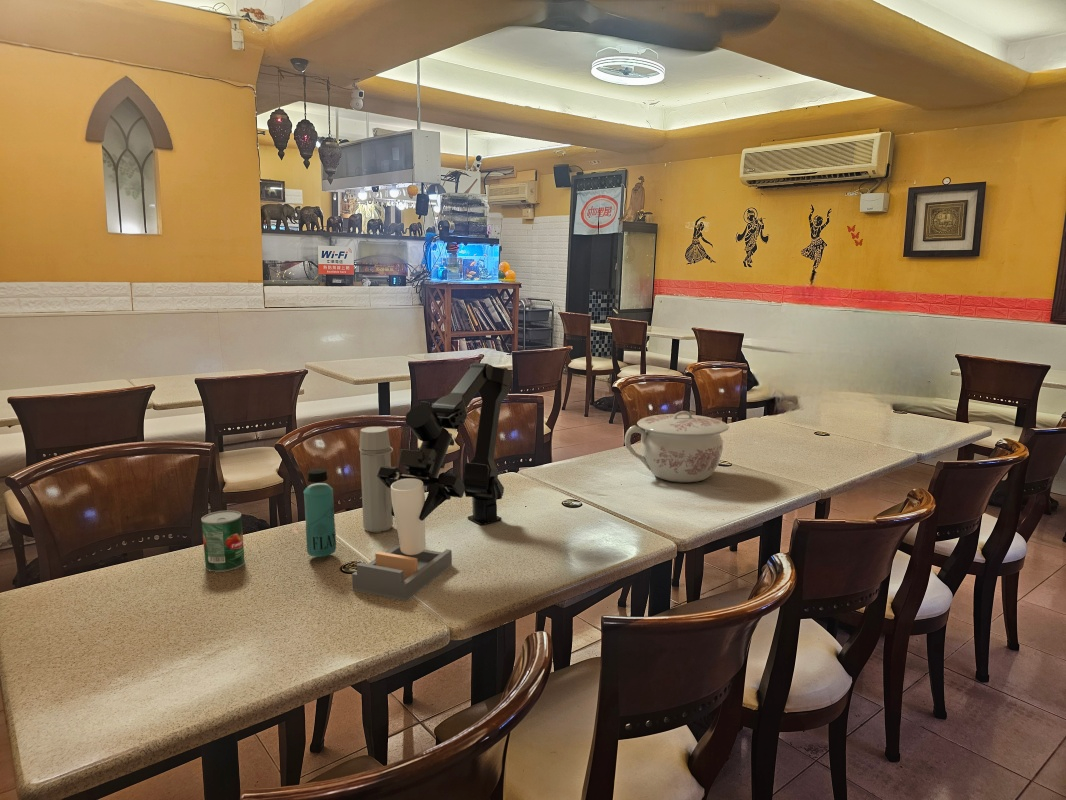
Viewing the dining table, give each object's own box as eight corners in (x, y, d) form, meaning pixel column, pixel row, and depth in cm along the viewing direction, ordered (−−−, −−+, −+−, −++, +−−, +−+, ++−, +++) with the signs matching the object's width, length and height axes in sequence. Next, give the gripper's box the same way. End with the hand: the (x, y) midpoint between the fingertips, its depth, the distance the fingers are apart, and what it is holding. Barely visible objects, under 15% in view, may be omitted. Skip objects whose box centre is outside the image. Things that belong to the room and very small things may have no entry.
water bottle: (356, 528, 175) (351, 429, 170) (382, 520, 180) (379, 424, 176) (378, 538, 169) (373, 435, 164) (405, 529, 174) (401, 430, 170)
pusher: (379, 574, 147) (378, 551, 146) (418, 581, 143) (417, 558, 143) (376, 576, 146) (375, 553, 145) (415, 583, 142) (414, 560, 141)
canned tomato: (205, 561, 156) (201, 513, 154) (244, 555, 159) (240, 508, 157) (205, 575, 148) (200, 525, 146) (245, 568, 151) (241, 519, 149)
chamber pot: (738, 472, 223) (741, 408, 219) (709, 496, 200) (712, 424, 196) (654, 460, 238) (656, 399, 234) (618, 480, 215) (620, 413, 211)
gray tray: (402, 556, 158) (401, 532, 157) (451, 565, 153) (451, 540, 152) (352, 590, 141) (351, 563, 140) (406, 601, 137) (405, 573, 136)
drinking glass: (408, 561, 145) (402, 493, 141) (390, 550, 150) (383, 484, 146) (435, 549, 150) (430, 483, 146) (417, 539, 155) (411, 475, 150)
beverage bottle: (309, 565, 153) (304, 476, 149) (304, 554, 159) (298, 468, 155) (340, 560, 156) (335, 472, 152) (333, 549, 162) (329, 464, 158)
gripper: (379, 429, 152) (350, 494, 144) (457, 437, 145) (431, 505, 137) (401, 455, 160) (375, 518, 152) (475, 464, 153) (452, 530, 145)
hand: (406, 517), depth 147 cm, fingers closed on drinking glass, 6 cm apart
